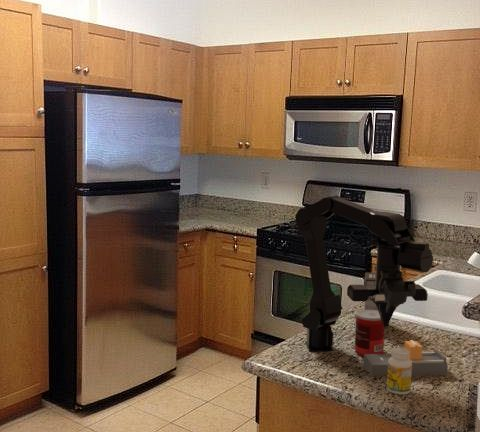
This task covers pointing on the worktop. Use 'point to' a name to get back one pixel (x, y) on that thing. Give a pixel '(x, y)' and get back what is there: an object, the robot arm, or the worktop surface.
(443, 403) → the worktop surface
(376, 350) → the canned food
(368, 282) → the coffee box
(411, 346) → the switch slider
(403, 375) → the supplement bottle
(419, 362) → the switch base
